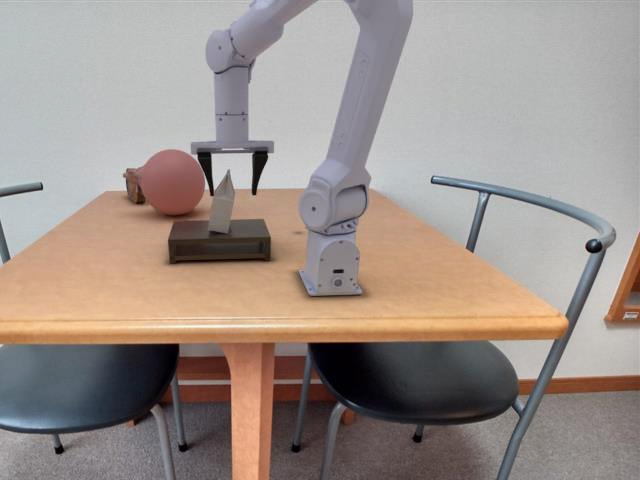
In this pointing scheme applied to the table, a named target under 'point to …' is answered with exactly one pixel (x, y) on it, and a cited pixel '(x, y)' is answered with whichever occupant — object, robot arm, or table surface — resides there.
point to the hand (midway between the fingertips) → (233, 194)
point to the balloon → (170, 181)
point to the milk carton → (222, 205)
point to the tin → (134, 190)
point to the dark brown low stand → (219, 240)
